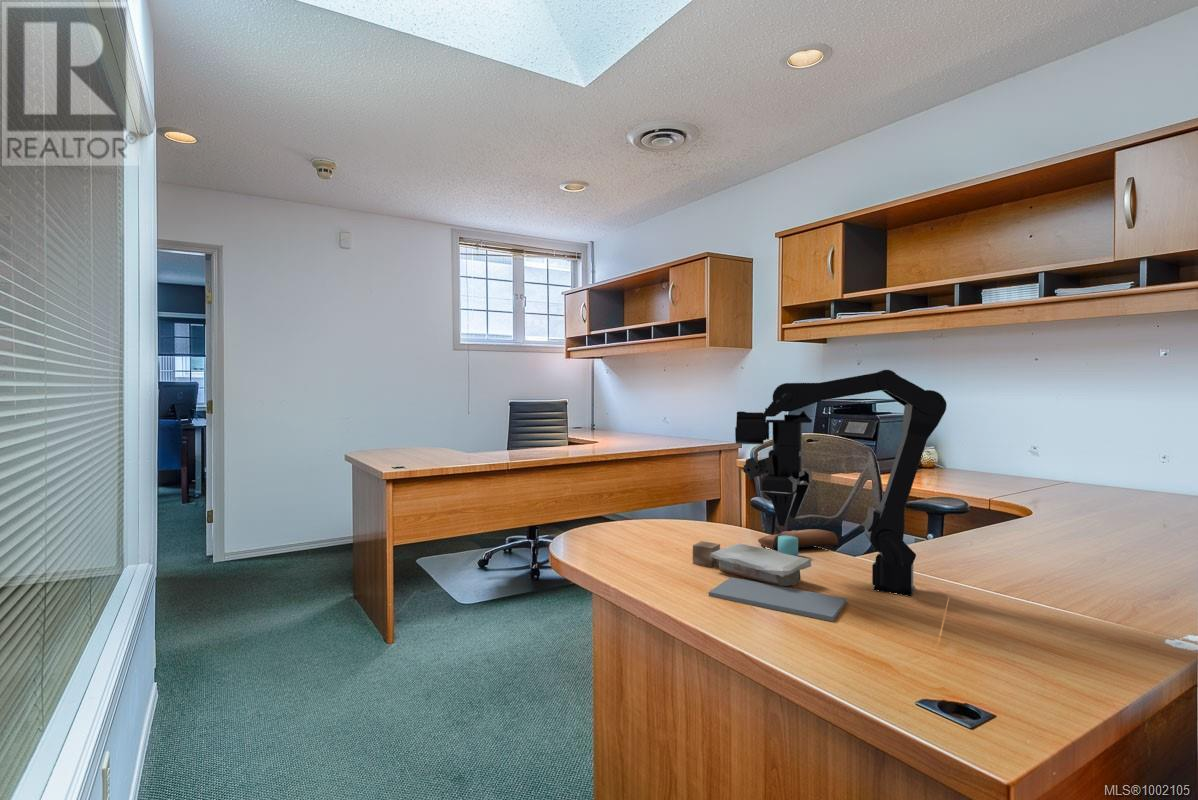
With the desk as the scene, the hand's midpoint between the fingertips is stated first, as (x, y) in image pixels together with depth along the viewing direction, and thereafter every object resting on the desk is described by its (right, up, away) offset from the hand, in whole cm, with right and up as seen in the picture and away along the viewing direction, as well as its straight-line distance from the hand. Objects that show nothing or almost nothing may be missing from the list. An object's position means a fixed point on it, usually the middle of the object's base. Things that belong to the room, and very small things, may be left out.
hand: (787, 521), depth 120 cm
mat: (-6, -12, -12) cm, 18 cm away
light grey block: (-1, -9, +5) cm, 10 cm away
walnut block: (-15, -12, +11) cm, 22 cm away
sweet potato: (+10, -13, +28) cm, 32 cm away
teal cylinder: (+6, -12, +18) cm, 22 cm away
